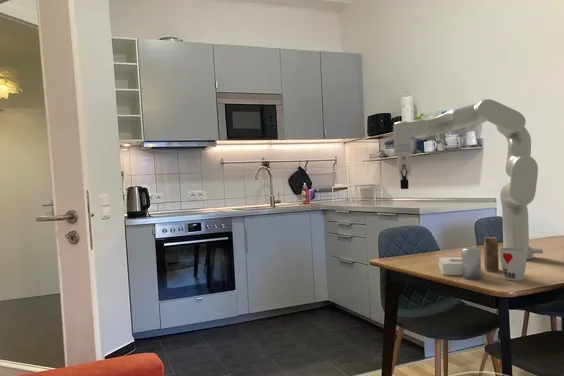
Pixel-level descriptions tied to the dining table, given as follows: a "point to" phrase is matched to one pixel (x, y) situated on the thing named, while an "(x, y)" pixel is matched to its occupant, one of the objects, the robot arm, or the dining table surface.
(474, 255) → the grey cylinder
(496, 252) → the walnut peg
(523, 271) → the cup
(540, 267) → the dining table surface
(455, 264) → the bore block
